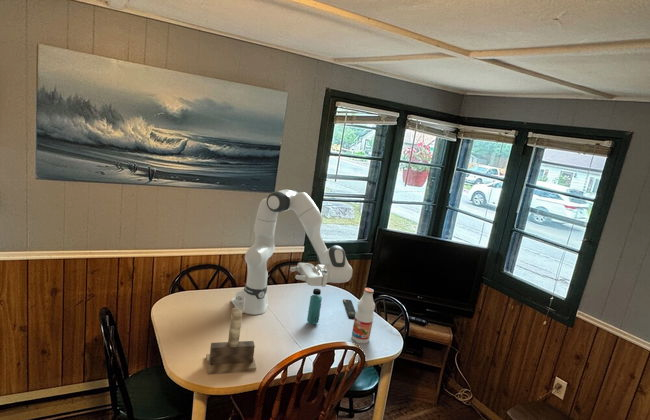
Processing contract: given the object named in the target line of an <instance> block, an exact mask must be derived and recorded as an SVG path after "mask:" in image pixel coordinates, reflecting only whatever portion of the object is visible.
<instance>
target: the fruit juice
mask: <svg viewBox="0 0 650 420" xmlns="http://www.w3.org/2000/svg"><path fill="white" fill-rule="evenodd" d="M374 292H375V291H374V289H373V288H372V287H371V288H370V287H365V288H364V290H363V294H362V297H361V298H360V299H358V302H357V308H356V309H357V310H355V312H356V314H355V319H353V326H352V330H351V331H352V332H351V339H352V341H354V342H355V343H358V344H367V343H368V342H369V341H370V337H371V333H372V328H373V323H374V312H375V309H376V304H375V302H374V297H373V294H374Z"/></svg>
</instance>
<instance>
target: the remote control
mask: <svg viewBox="0 0 650 420" xmlns="http://www.w3.org/2000/svg"><path fill="white" fill-rule="evenodd" d="M342 302H343V303H342V304H343V306H344V308H345V309H344V310H345V311H346V315H347V318H348V319H349V320H354V319H355V314H356V310H355V307H354V303H353V302H352V300H351V299H342Z"/></svg>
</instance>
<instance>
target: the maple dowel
mask: <svg viewBox="0 0 650 420" xmlns="http://www.w3.org/2000/svg"><path fill="white" fill-rule="evenodd" d="M242 311H243V310H242V309H241V308H236V307H233V308H232V309H231V313H230V321H229V322H230V323H229V333H228V338H227V339H228V340H227V342H228V346H230V347H237V346H238V345H239V342H240V335H241V327H242V326H241V325H242V318H243V313H242Z"/></svg>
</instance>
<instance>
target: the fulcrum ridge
mask: <svg viewBox="0 0 650 420" xmlns="http://www.w3.org/2000/svg"><path fill="white" fill-rule="evenodd" d="M255 347H256V346H255V342H254V340H246V341H245V340H244V341H243V340H242V341H240V340H239V345H238V346H237V347H230V346H228V341H222V342H218V341H217V342H211V343H210V349H209V354H208V353H207V354H206V355H205V358H206V359H205V360H206V369H207V370H208V371H207V374H208V375H213V374H214V375H215V374H217V373H218V374H227V373H228V374H230V373H231V374H232V373H243V372H245V373H247V372H257V365H256V360H255V358H254V355H255V349H256V348H255Z"/></svg>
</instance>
